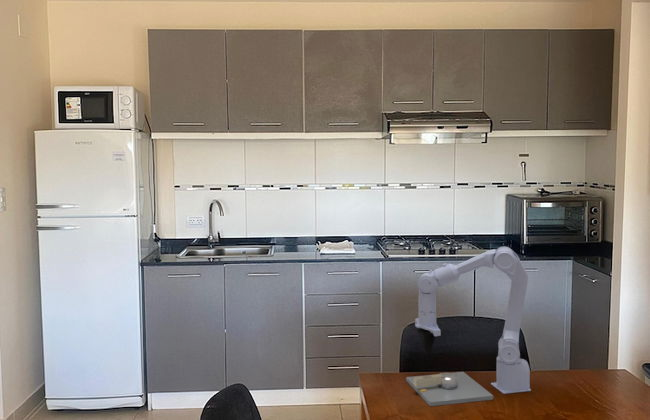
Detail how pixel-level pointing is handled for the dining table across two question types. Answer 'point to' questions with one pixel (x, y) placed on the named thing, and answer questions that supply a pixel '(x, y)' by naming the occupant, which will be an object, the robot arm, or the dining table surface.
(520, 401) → the dining table surface
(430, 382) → the door lever handle
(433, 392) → the lock plate
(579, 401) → the dining table surface
